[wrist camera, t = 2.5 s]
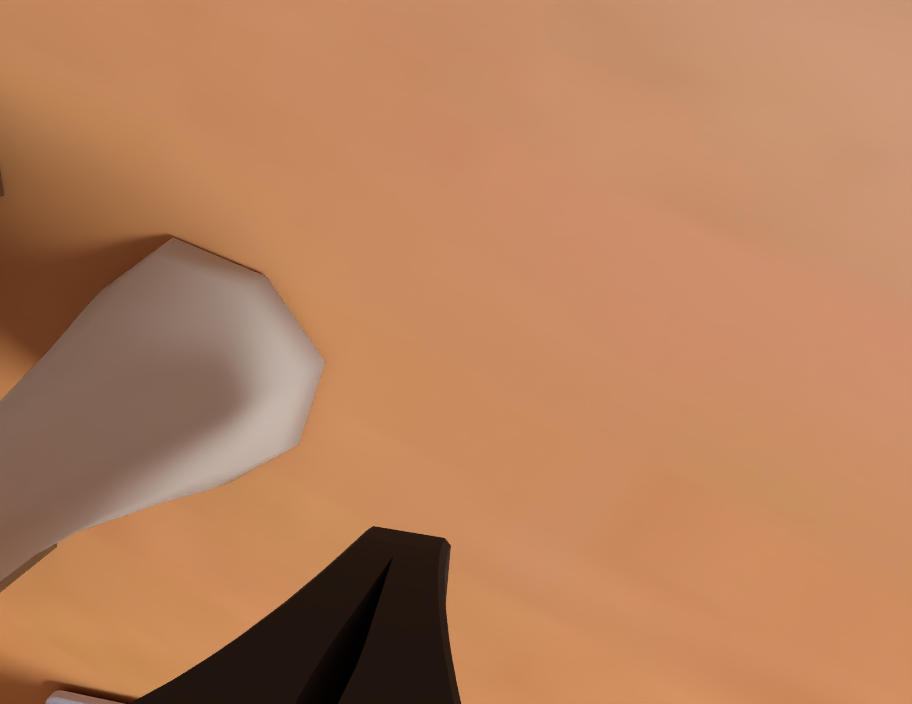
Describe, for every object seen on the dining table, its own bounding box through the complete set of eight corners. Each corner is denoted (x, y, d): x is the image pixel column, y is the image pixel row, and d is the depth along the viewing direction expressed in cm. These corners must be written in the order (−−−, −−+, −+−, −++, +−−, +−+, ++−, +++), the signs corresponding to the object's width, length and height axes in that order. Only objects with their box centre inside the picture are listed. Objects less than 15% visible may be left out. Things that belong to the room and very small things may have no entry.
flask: (58, 370, 20) (-382, 572, 11) (167, 189, 18) (-281, 246, 8) (240, 513, 21) (-28, 822, 11) (371, 357, 18) (165, 587, 9)
